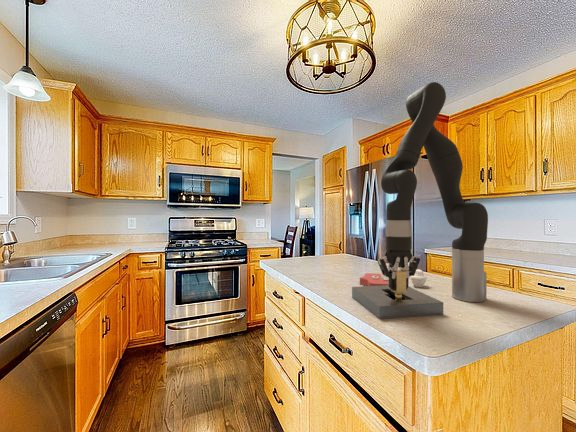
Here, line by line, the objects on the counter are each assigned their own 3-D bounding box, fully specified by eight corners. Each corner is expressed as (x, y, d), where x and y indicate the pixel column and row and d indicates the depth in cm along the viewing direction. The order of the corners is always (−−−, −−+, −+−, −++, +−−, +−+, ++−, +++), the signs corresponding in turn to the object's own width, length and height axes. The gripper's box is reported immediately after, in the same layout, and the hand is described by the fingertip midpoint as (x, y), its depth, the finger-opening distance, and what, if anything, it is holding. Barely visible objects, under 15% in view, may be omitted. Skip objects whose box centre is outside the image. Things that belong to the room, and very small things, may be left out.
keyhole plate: (403, 294, 98) (403, 284, 98) (443, 314, 78) (443, 302, 78) (352, 297, 95) (352, 286, 95) (379, 319, 75) (379, 306, 75)
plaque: (357, 271, 121) (392, 272, 118) (357, 280, 121) (392, 281, 118) (361, 281, 103) (402, 283, 101) (361, 291, 103) (402, 293, 101)
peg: (401, 304, 86) (401, 268, 86) (410, 309, 81) (410, 272, 81) (387, 305, 86) (386, 269, 86) (395, 310, 81) (395, 272, 81)
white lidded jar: (420, 283, 112) (420, 267, 112) (430, 287, 106) (430, 270, 106) (406, 284, 111) (406, 267, 111) (415, 288, 105) (415, 270, 105)
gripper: (411, 233, 88) (411, 285, 88) (371, 234, 86) (371, 287, 86) (426, 235, 81) (426, 292, 81) (383, 236, 79) (383, 294, 79)
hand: (398, 289), depth 83 cm, fingers closed on peg, 3 cm apart
